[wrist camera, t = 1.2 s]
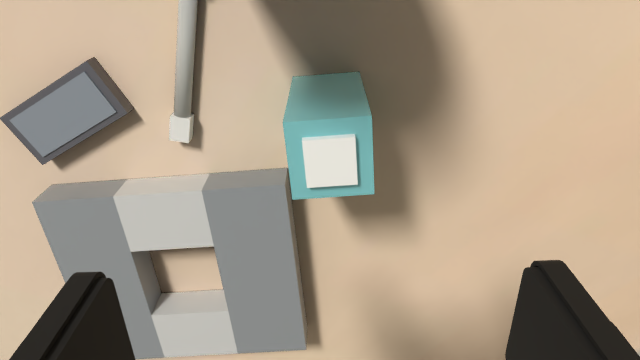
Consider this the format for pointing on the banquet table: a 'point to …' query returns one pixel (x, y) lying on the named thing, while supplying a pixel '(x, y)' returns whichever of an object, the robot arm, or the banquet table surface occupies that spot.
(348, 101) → the block
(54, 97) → the phone
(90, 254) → the socket plate
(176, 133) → the cable
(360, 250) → the banquet table surface
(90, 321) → the robot arm
